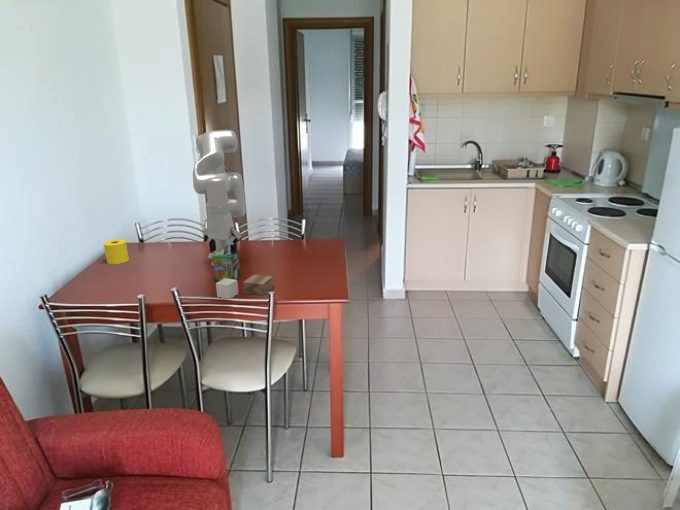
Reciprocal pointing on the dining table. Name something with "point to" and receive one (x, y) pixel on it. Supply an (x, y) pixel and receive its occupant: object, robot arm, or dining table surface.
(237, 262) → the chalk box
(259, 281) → the walnut block
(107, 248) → the tape roll
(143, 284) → the dining table surface
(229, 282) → the cream cube
